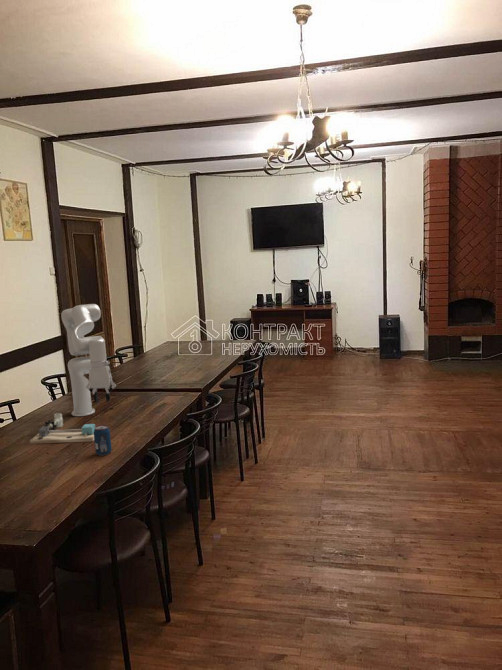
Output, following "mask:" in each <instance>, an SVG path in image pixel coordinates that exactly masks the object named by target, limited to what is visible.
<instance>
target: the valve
mask: <svg viewBox="0 0 502 670" xmlns="http://www.w3.org/2000/svg"><path fill="white" fill-rule="evenodd" d="M53 416H54V419H53V420H51V419H49V420H46V421H44V425H43V427H47V426H49V430H57V429H56V428H61V427H63V426H64V423H63V422H64V419H63V414H62V413H61V412H58V413H55V414H53Z"/></svg>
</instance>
